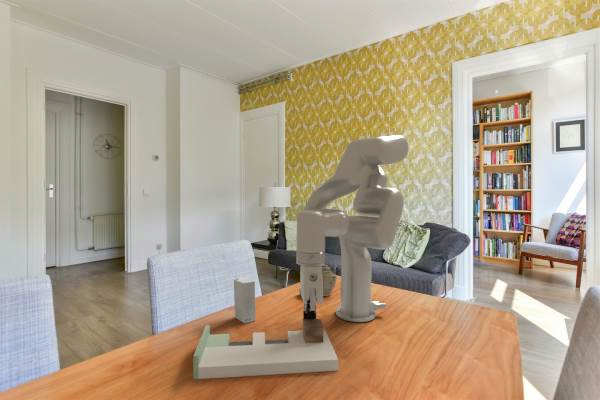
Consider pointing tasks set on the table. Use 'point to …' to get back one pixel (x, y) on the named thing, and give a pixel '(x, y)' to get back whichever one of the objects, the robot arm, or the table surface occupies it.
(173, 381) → the table surface
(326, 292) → the fossil tooth
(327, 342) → the board
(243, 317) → the skincare box
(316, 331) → the walnut block
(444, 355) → the table surface
